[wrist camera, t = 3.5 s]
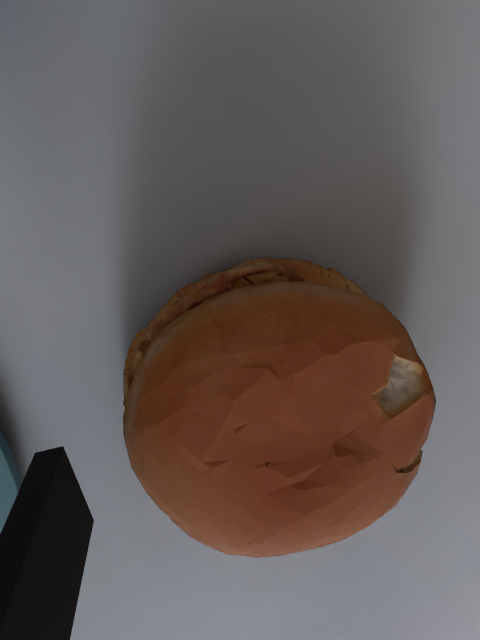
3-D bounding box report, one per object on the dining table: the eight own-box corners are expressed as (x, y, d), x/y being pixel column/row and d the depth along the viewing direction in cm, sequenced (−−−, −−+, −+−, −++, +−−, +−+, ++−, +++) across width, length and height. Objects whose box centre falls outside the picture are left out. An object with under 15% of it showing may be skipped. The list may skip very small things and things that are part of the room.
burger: (75, 413, 16) (44, 512, 12) (236, 191, 14) (269, 213, 10) (287, 519, 19) (324, 628, 15) (439, 351, 18) (530, 419, 13)
